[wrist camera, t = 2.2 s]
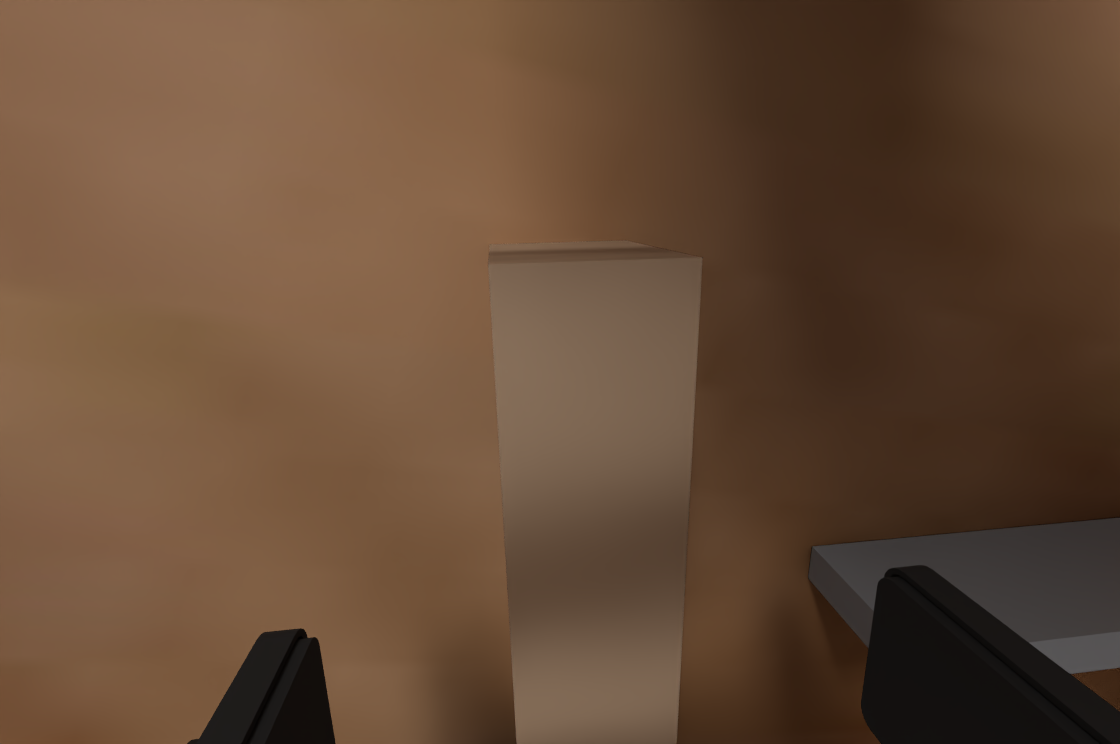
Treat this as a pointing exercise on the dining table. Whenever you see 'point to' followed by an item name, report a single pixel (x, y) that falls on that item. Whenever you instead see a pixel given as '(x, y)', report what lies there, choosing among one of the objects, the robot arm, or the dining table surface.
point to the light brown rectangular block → (595, 481)
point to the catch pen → (1000, 582)
